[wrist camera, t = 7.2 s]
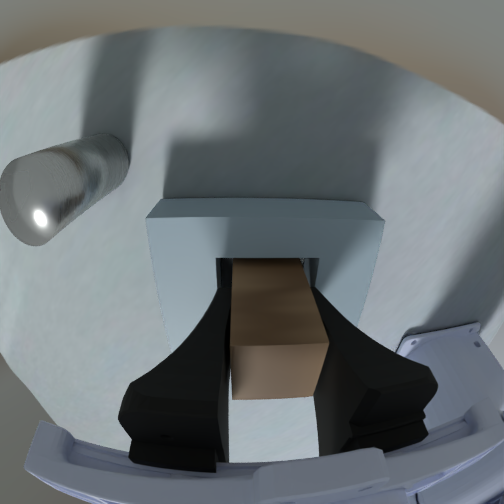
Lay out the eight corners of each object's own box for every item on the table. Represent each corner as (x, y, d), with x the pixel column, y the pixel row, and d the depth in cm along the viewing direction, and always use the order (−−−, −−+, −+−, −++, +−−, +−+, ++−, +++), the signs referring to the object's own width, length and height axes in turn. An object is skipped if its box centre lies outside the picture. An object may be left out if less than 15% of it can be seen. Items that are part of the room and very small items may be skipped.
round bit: (126, 129, 11) (50, 149, 6) (131, 189, 13) (68, 245, 7) (74, 139, 11) (-8, 166, 6) (82, 194, 13) (10, 247, 7)
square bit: (296, 251, 13) (329, 342, 8) (290, 302, 15) (312, 396, 10) (233, 251, 13) (230, 345, 8) (233, 302, 15) (232, 399, 9)
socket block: (363, 202, 13) (385, 221, 11) (337, 323, 17) (348, 351, 15) (160, 199, 13) (145, 218, 11) (178, 325, 17) (171, 355, 15)
